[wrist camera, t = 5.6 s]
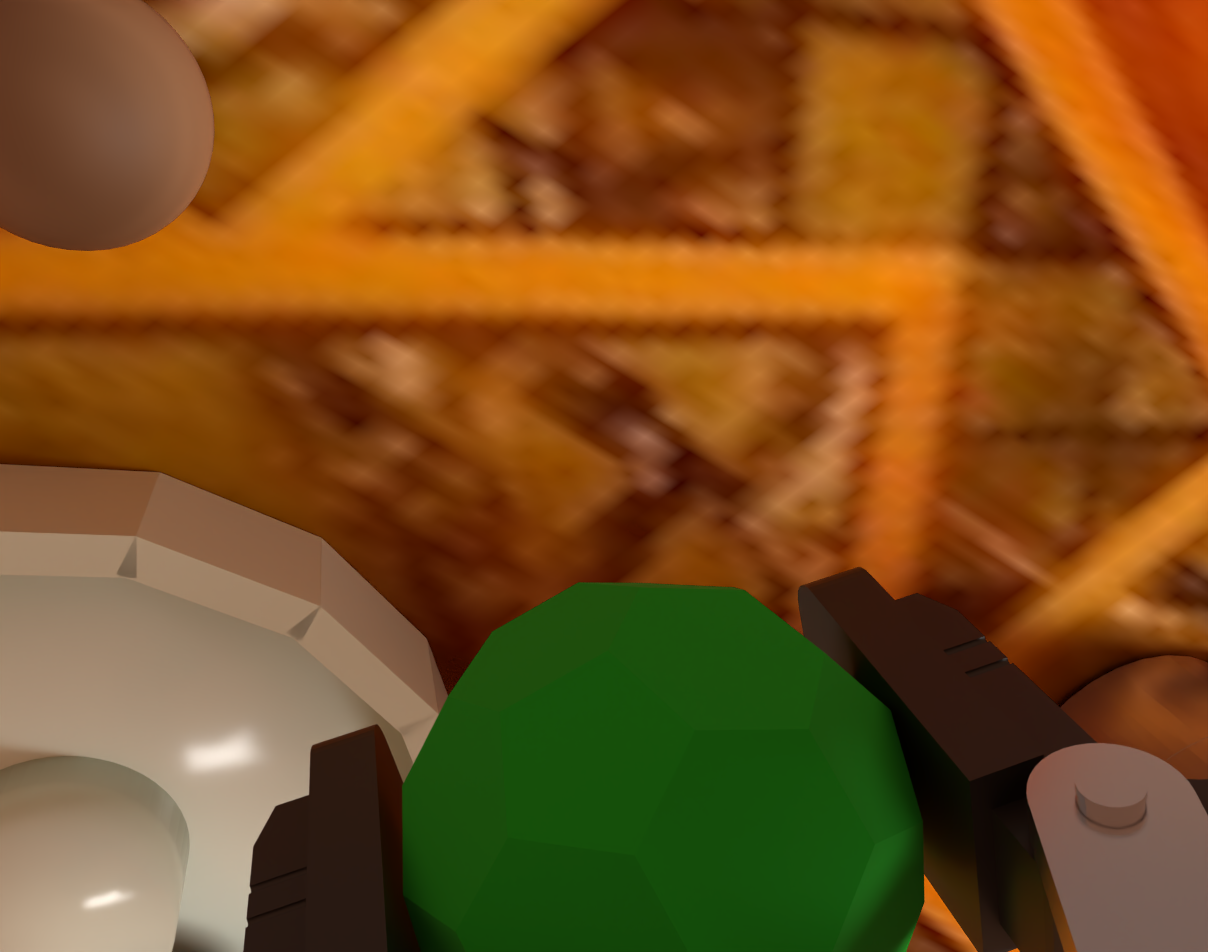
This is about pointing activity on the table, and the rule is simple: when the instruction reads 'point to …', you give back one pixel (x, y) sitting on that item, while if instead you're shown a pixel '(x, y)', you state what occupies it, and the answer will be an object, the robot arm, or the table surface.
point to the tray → (171, 701)
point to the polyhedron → (660, 788)
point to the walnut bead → (97, 122)
